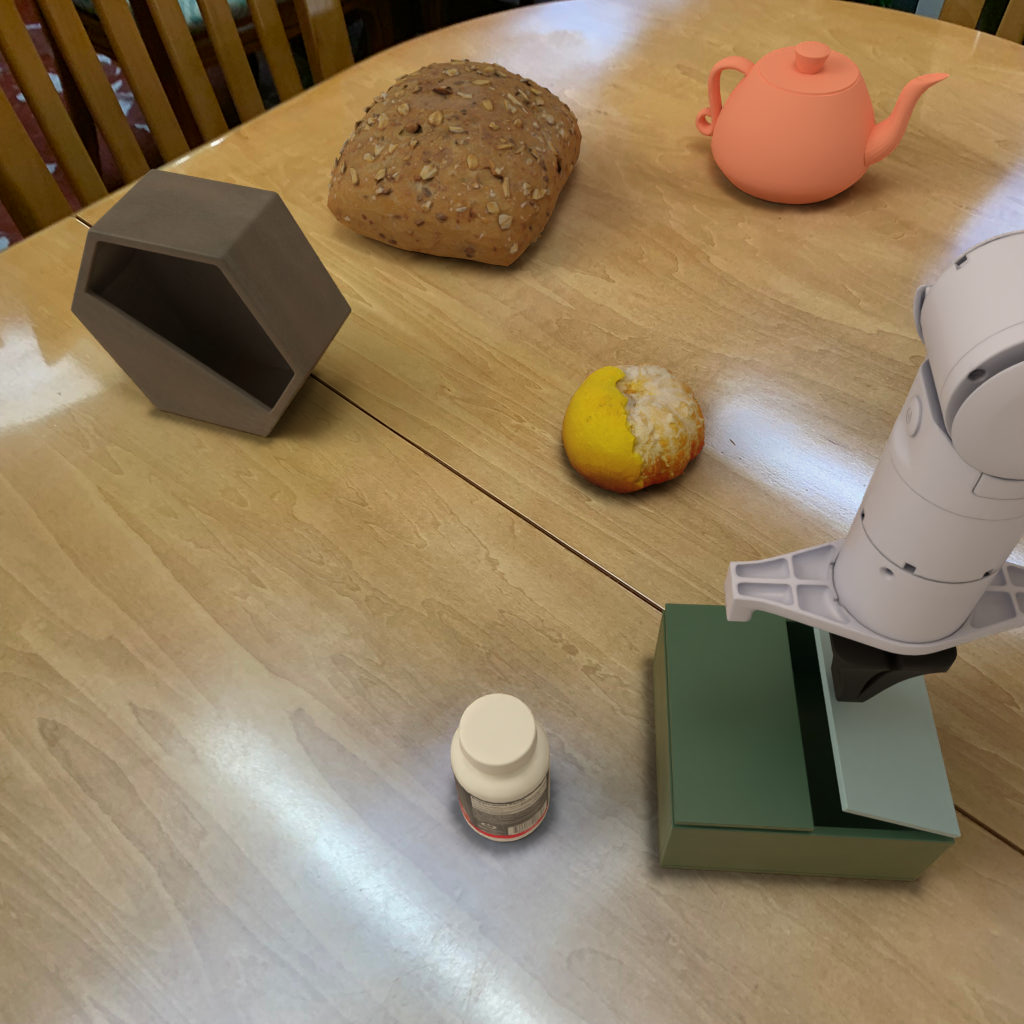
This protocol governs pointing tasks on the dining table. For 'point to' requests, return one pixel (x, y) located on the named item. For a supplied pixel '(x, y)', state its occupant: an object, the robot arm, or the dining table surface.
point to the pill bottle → (501, 767)
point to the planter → (208, 298)
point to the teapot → (801, 123)
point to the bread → (456, 163)
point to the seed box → (759, 757)
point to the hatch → (888, 753)
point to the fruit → (632, 427)
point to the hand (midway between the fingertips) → (847, 684)
